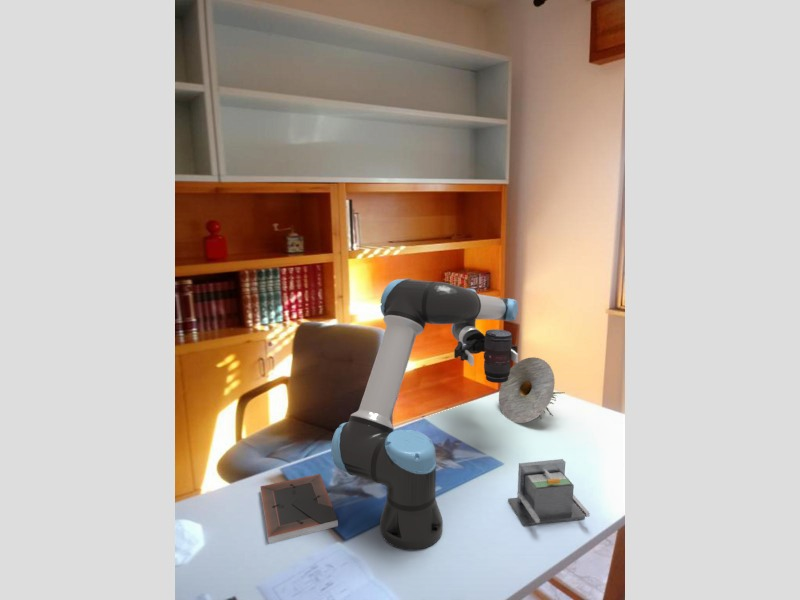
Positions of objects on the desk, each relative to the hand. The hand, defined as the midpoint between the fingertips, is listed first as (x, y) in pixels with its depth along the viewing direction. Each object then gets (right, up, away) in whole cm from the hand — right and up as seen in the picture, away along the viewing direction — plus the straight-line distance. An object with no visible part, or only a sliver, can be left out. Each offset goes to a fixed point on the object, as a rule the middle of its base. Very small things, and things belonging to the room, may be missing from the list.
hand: (494, 359), depth 137 cm
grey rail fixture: (+10, -36, -20) cm, 42 cm away
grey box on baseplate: (+9, -36, -19) cm, 42 cm away
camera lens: (+2, -7, +7) cm, 10 cm away
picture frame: (-55, -37, -16) cm, 68 cm away
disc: (+21, -25, +36) cm, 49 cm away
